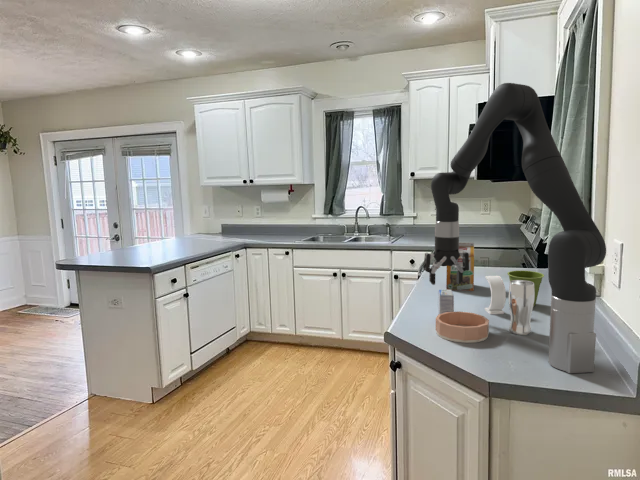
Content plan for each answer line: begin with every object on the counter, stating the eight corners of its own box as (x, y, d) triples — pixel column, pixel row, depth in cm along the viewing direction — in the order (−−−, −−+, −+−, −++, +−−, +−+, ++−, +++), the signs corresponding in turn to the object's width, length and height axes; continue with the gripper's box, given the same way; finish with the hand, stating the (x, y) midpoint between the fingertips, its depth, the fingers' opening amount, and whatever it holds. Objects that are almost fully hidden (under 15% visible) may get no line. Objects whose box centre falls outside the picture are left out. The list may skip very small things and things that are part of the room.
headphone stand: (497, 309, 154) (499, 275, 152) (505, 314, 148) (506, 279, 146) (484, 309, 154) (485, 276, 152) (491, 315, 148) (492, 280, 146)
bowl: (496, 341, 125) (497, 326, 124) (445, 344, 124) (446, 328, 123) (475, 324, 139) (476, 310, 139) (430, 326, 139) (430, 312, 138)
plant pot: (499, 303, 162) (500, 272, 160) (522, 298, 166) (524, 269, 165) (525, 311, 151) (527, 279, 149) (550, 306, 156) (552, 275, 154)
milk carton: (446, 289, 182) (446, 244, 180) (447, 283, 192) (447, 240, 190) (473, 291, 179) (474, 244, 176) (472, 284, 189) (473, 240, 186)
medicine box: (453, 321, 143) (454, 295, 142) (439, 321, 144) (439, 295, 142) (451, 314, 150) (452, 289, 149) (438, 313, 151) (438, 289, 150)
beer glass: (511, 326, 137) (513, 278, 135) (535, 330, 133) (537, 281, 130) (504, 332, 132) (505, 283, 130) (529, 337, 127) (531, 286, 125)
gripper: (428, 237, 139) (428, 287, 142) (473, 235, 140) (471, 285, 142) (421, 234, 147) (421, 281, 149) (464, 232, 147) (463, 280, 150)
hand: (446, 283), depth 146 cm, fingers open, 8 cm apart
